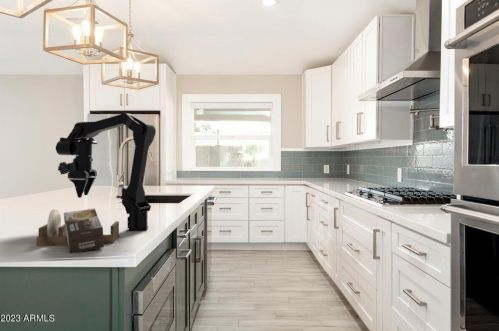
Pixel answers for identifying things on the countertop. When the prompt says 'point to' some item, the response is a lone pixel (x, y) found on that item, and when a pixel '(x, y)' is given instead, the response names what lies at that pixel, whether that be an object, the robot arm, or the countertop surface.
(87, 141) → the robot arm
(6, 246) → the countertop surface
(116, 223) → the rack
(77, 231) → the coffee box
